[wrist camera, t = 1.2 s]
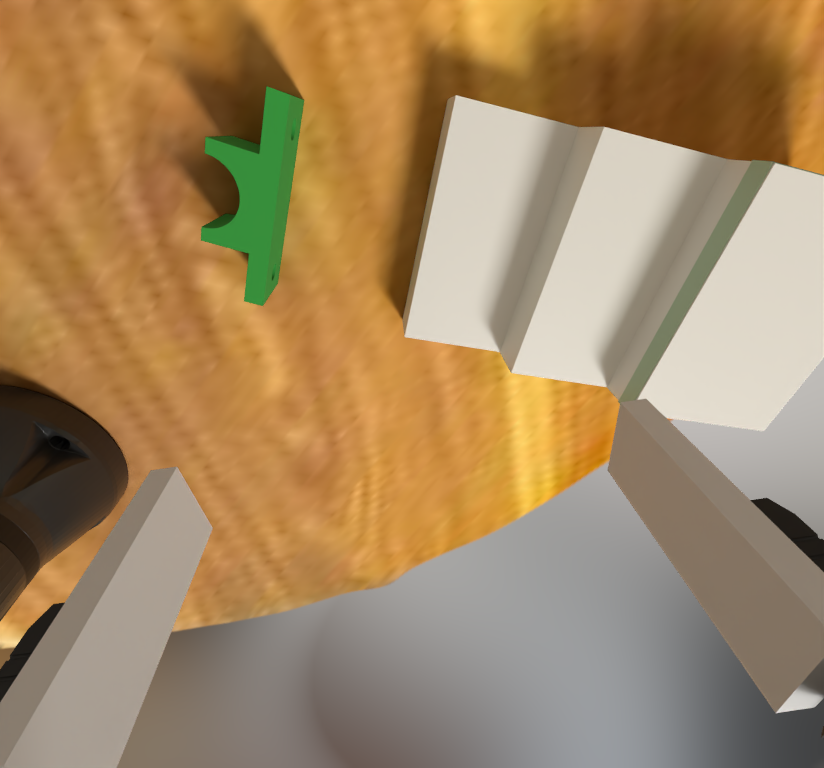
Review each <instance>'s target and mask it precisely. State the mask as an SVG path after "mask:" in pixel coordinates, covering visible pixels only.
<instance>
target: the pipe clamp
mask: <svg viewBox="0 0 824 768" xmlns="http://www.w3.org/2000/svg"><path fill="white" fill-rule="evenodd" d="M303 105H304V100H302V99H300V98H297V97H295V96H292V95H289V94H287V93H284V92H281V91H278V90H276V89H273V88H270V87H267V86H266V96H265V105H264V115H263V124H262V134H261V144H260V145H258V144H255V143H252V142H249V141H246V140H243V139H240V138H237V137H234V136H215V137H206V140H205V153H206V154H208V155H211V156H213V157H214V158H216V159H217V160H219V161H220V162H221V163H222V164H224V165H225V166H226V167H227V169H228V170H229V171H230V172H231V174H232V175H233V177H234V179H235V181H236V183H237V186H238V189H239V195H240V204H239V209H238V212H237V214H236V215H232V214H227V213H226V214H224V215H223V216H221V217H219V218H217V219H215V220H213V221H212V222H210V223H208V224H206V225H204V226H202V229H201V240H202V241H205V242H209V243H212V244H216V245H220V246H223V247H227V248H231V249H234V250H238V251H242V252H245V253H249V259H248V268H247V278H246V288H245V297H244V301H245V302H249V303H253V304H257V305H261V306H263V305H264V303H265V302H266V300H267V299H268V297H269V296H270V294H271V293H272V291H273V290H274V288H275V287H276V285H277V284H278V278H279V271H280V264H281V257H282V250H283V243H284V236H285V230H286V223H287V216H288V209H289V202H290V195H291V188H292V181H293V174H294V167H295V160H296V153H297V146H298V139H299V133H300V126H301V119H302V112H303Z"/></svg>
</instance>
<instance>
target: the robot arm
mask: <svg viewBox="0 0 824 768" xmlns="http://www.w3.org/2000/svg"><path fill="white" fill-rule="evenodd" d="M608 471H609V473H610V474H611V476H612V477H613V479H614V480H615V482H616V483H617V485H618V486H619V487H620V489H621V490H622V492H623V493H624V495H625V496H626V497H627V499H628V500H629V501H630V503H631V505H632V506H633V508H634V509H635V511H636V512H637V513H638V515H639V516H640V518H641V519H642V520H643V522H644V524H645V525H646V526H647V528H648V529H649V531H650V532H651V534H652V535H653V537H654V538H655V539H656V541H657V542H658V544H659V545H660V547H661V548H662V549H663V551H664V552H665V554H666V555H667V557H668V558H669V559H670V561H671V562H672V564H673V565H674V567H675V568H676V570H677V571H678V573H679V574H680V575H681V577H682V578H683V580H684V581H685V583H686V584H687V586H688V587H689V588H690V590H691V591H692V593H693V594H694V596H695V597H696V599H697V600H698V602H699V603H700V604H701V606H702V607H703V608H704V610H705V612H706V613H707V614H708V616H709V617H710V619H711V620H712V622H713V623H714V625H715V626H716V628H717V629H718V630H719V632H720V633H721V635H722V636H723V637H724V639H725V641H726V642H727V643H728V645H729V646H730V648H731V649H732V651H733V652H734V654H735V655H736V656H737V658H738V659H739V661H740V662H741V664H742V665H743V666H744V668H745V669H746V671H747V672H748V674H749V675H750V677H751V678H752V680H753V681H754V682H755V684H756V685H757V687H758V688H759V690H760V691H761V693H762V694H763V695H764V697H765V698H766V700H767V701H768V702H769V704H770V706H771V707H772V708H773V710H774V711H775V712H776V713H779V712H786V711H792V710H799V709H805V708H812V707H815V706H816V705H817V704H818V703H819V702H820V701H821V700H822V699H823V698H824V540H823V539H819V538H818V535H817V534H816V533H815V532H814V531H813V530H812V529H811V528H810V527H809V526H807V525H806V524H805V523H804V522H803V521H802V520H801V519H800V518H799V517H797V516H796V515H795V514H794V513H792V512H790V511H789V510H787V509H785V508H783V507H782V506H780V505H778V504H777V503H775V502H773V501H771V500H770V499H768V498H763V499H756V500H749V499H748V498H747V497H746V496H745V495H744V494H743V493H742V492H741V491H740V490H739V489H738V488H737V487H736V486H735V485H734V484H733V483H732V482H731V481H730V480H729V479H728V478H727V477H726V476H725V475H724V474H723V473H722V472H721V471H719V469H718V468H716V467H715V465H714V464H713V463H712V462H711V461H709V460H708V459H707V458H706V457H705V456H704V455H703V454H702V453H701V452H700V451H699V450H698V449H697V448H696V447H695V446H694V445H693V444H692V443H691V442H690V441H689V440H688V439H687V438H686V437H685V436H684V435H683V434H682V433H681V432H680V431H679V430H678V429H677V428H676V427H675V426H674V425H673V424H672V423H671V422H670V421H669V420H668V419H667V418H666V417H665V416H664V415H663V414H662V413H660V412H659V411H658V410H657V409H656V408H655V407H654V406H653V405H652V404H651V403H650V402H649V401H648V400H647V399H639V400H633V401H626V402H621V403H620V408H619V413H618V418H617V424H616V429H615V434H614V440H613V445H612V450H611V455H610V461H609V466H608ZM127 484H128V469H127V465H126V461H125V459H124V457H123V454H122V453H121V451H120V449H119V448H118V446H117V445H116V443H115V442H114V441H113V440H112V438H111V437H110V436H109V435H108V434H107V433H106V432H105V431H104V430H103V429H102V428H101V427H100V426H99V425H97V424H96V423H95V422H94V421H92V420H91V419H90V418H88V417H87V416H85V415H84V414H82V413H81V412H79V411H78V410H76V409H74V408H72V407H71V406H69V405H67V404H65V403H63V402H60V401H58V400H56V399H54V398H51V397H49V396H46V395H43V394H40V393H37V392H34V391H30V390H26V389H22V388H17V387H11V386H4V385H0V621H1V620H2V619H3V617H4V616H5V614H6V613H7V612H8V610H9V609H10V608H11V606H12V605H13V604H14V602H15V601H16V600H17V598H18V597H19V596H20V594H21V593H22V592H23V590H24V589H25V588H26V587H27V585H28V584H29V583H30V581H31V580H32V579H33V578H34V576H35V575H36V574H37V572H38V571H39V570H40V569H41V568H42V567H43V566H44V565H45V564H46V563H48V562H49V561H50V560H51V559H53V558H54V557H55V556H57V555H58V554H59V553H61V552H62V551H63V550H65V549H66V548H67V547H68V546H70V545H71V544H72V543H74V542H75V541H76V540H77V539H79V538H80V537H81V536H82V535H84V534H85V533H86V532H87V531H89V530H90V529H92V528H94V527H95V526H97V525H98V524H100V523H101V522H102V521H103V520H104V519H105V518H106V517H107V516H108V515H109V514H110V513H111V511H112V510H113V509H114V507H115V506H116V504H117V503H118V501H119V500H120V499H121V497H122V496H123V494H124V492H125V490H126V488H127ZM212 529H213V528H212V526H211V524H210V523H209V521H208V519H207V518H206V516H205V514H204V512H203V511H202V509H201V507H200V505H199V504H198V502H197V500H196V499H195V497H194V495H193V493H192V492H191V490H190V488H189V486H188V485H187V483H186V481H185V479H184V478H183V476H182V474H181V473H180V471H179V469H178V467H172V468H165V469H158V470H151V471H150V473H149V474H148V476H147V477H146V479H145V481H144V482H143V484H142V485H141V487H140V488H139V490H138V491H137V493H136V494H135V496H134V497H133V499H132V501H131V502H130V504H129V505H128V507H127V508H126V510H125V511H124V513H123V514H122V516H121V517H120V519H119V520H118V522H117V524H116V525H115V527H114V528H113V530H112V531H111V533H110V534H109V536H108V537H107V539H106V540H105V542H104V544H103V545H102V547H101V548H100V550H99V551H98V553H97V554H96V556H95V557H94V559H93V560H92V562H91V564H90V565H89V567H88V568H87V570H86V571H85V573H84V574H83V576H82V577H81V579H80V580H79V582H78V584H77V585H76V587H75V588H74V590H73V591H72V593H71V594H70V596H69V597H68V599H67V600H66V602H65V603H59V604H53V605H52V606H51V607H50V608H49V609H48V610H47V611H46V612H45V613H44V614H43V615H42V616H41V617H40V618H39V619H38V620H37V621H36V622H35V623H34V624H33V625H32V626H31V627H30V628H29V629H28V630H27V632H26V633H25V635H24V636H23V637H22V639H21V640H20V642H19V643H18V645H17V646H16V648H15V649H14V651H13V652H12V653H11V655H10V660H9V661H6V662H5V664H4V665H3V666H2V668H1V669H0V768H117V765H118V763H119V760H120V758H121V755H122V753H123V751H124V748H125V746H126V743H127V741H128V738H129V735H130V733H131V730H132V728H133V726H134V723H135V721H136V718H137V715H138V713H139V711H140V708H141V706H142V703H143V701H144V698H145V696H146V693H147V691H148V688H149V686H150V683H151V680H152V678H153V676H154V673H155V671H156V668H157V666H158V663H159V661H160V658H161V655H162V653H163V651H164V648H165V646H166V643H167V641H168V638H169V635H170V633H171V631H172V628H173V626H174V623H175V621H176V618H177V616H178V613H179V611H180V608H181V606H182V603H183V601H184V598H185V596H186V593H187V591H188V588H189V586H190V584H191V581H192V579H193V576H194V574H195V571H196V569H197V566H198V564H199V561H200V559H201V556H202V554H203V551H204V549H205V546H206V544H207V541H208V539H209V536H210V534H211V531H212ZM821 738H823V739H824V726H823V730H822V735H821Z"/></svg>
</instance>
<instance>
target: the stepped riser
mask: <svg viewBox="0 0 824 768" xmlns="http://www.w3.org/2000/svg"><path fill="white" fill-rule="evenodd" d="M403 328H404V336H405V337H408V338H414V339H421V340H427V341H434V342H440V343H446V344H453V345H459V346H465V347H472V348H478V349H485V350H491V351H497V352H500V353H501V355H502V357H503V359H504V361H505V362H506V364H507V366H508V368H509V370H510V372H511V373H516V374H522V375H529V376H536V377H542V378H549V379H556V380H563V381H569V382H576V383H583V384H589V385H596V386H603V387H607V388H608V389H609V390H610V391H611V392H612V393H613V395H614V396H615V397H616V398H617V399H618V400H619V401H618V402H619V403H621V402H626V401H633V400H639V399H647V400H648V401H649V402H650V403H651V404H652V405H653V406H654V407H655V408H656V409H657V410H658V411H659V412H660V413H662V414H663V415H664V416H665V417H666V418H671V419H678V420H686V421H693V422H700V423H707V424H714V425H722V426H729V427H737V428H743V429H751V430H758V431H764V430H765V429H766V428H767V426H768V425H769V424H770V423H771V422H772V421H773V419H774V418H775V417H776V416H777V414H778V413H779V412H780V411H781V410H782V408H783V407H784V406H785V405H786V403H787V402H788V401H789V400H790V399H791V397H792V396H793V395H794V394H795V392H796V391H797V390H798V389H799V387H800V386H801V385H802V384H803V383H804V381H805V380H806V379H807V377H808V376H809V375H810V374H811V373H812V371H813V370H814V369H815V368H816V367H817V365H818V364H819V363H820V362H821V360H822V359H823V358H824V175H822V174H818V173H814V172H810V171H807V170H803V169H799V168H795V167H792V166H788V165H784V164H780V163H777V162H773V161H760V160H752V161H743V160H732V159H725V158H721V157H717V156H713V155H710V154H706V153H702V152H698V151H694V150H691V149H687V148H683V147H679V146H675V145H672V144H668V143H664V142H660V141H656V140H653V139H649V138H645V137H641V136H637V135H634V134H630V133H626V132H622V131H618V130H615V129H611V128H607V127H576V126H573V125H569V124H565V123H561V122H557V121H553V120H549V119H546V118H542V117H538V116H534V115H530V114H526V113H523V112H519V111H515V110H511V109H507V108H503V107H500V106H496V105H492V104H488V103H484V102H480V101H476V100H473V99H469V98H465V97H461V96H457V95H455V96H453V97H451V98H449V99H448V100H447V105H446V110H445V115H444V120H443V125H442V130H441V134H440V139H439V144H438V149H437V154H436V159H435V164H434V169H433V173H432V178H431V183H430V188H429V193H428V198H427V203H426V208H425V212H424V217H423V222H422V227H421V232H420V237H419V242H418V247H417V252H416V256H415V261H414V266H413V271H412V276H411V281H410V286H409V291H408V295H407V300H406V305H405V310H404V315H403Z"/></svg>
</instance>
